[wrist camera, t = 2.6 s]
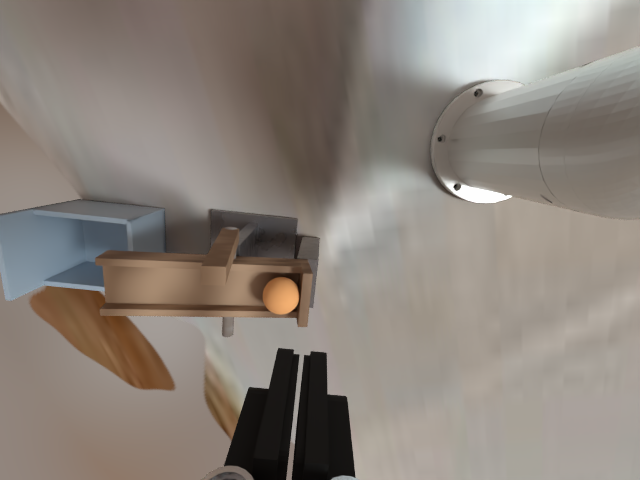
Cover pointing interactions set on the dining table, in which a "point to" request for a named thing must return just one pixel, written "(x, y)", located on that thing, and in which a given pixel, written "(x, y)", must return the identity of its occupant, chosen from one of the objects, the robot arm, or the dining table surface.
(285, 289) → the ball
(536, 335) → the dining table surface
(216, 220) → the trestle
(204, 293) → the lever
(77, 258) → the bin
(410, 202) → the dining table surface
